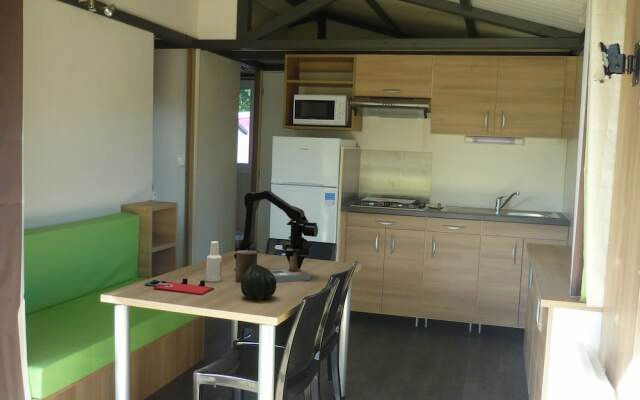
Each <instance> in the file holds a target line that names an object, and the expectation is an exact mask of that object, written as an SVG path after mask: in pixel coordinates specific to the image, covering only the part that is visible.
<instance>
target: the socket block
mask: <svg viewBox="0 0 640 400" xmlns="http://www.w3.org/2000/svg"><path fill="white" fill-rule="evenodd" d="M269 270H270V271H271V272H272V273H273V275H274V276H275V278H276V284H277V283H288V282H290V283H291V282H302V281H303V282H304V281H311V273H309V272H307V271H305V270H302V269H300V272H293V273H292V272H290V271H289V268H288V269H287V268H285V269H283V268H282V269H269Z"/></svg>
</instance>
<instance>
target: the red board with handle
mask: <svg viewBox="0 0 640 400" xmlns="http://www.w3.org/2000/svg"><path fill="white" fill-rule="evenodd" d="M188 280H189V279H188V278H182V281H181V283H180V282H173V281H165V280H159V279H158V280H157V279H152V280H150V281H148V282H146V283H144V285H148V286H154V287H153V290H154V291H163V292H171V293H177V294H178V293H180V294H188V295H196V296H204V295H206V294H208V293H210V292H213V291H214V290H215V287H211V286H206V280H200V281H199V284H198V285H197V284H190V283H188Z"/></svg>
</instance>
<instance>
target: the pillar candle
mask: <svg viewBox="0 0 640 400" xmlns="http://www.w3.org/2000/svg"><path fill="white" fill-rule="evenodd" d="M236 253H237V258H236V259H235V268H236V270H235V282H238V283H241V281H242V279H243V276H244V274H245V273H246V272H247V270H248V269H249V268H250V266H251V265H252V264H257V265H258V251H256V250H255V251H248V250H247V251H246V250H243V251H239V250H237V251H236Z"/></svg>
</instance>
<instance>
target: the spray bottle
mask: <svg viewBox="0 0 640 400" xmlns="http://www.w3.org/2000/svg"><path fill="white" fill-rule="evenodd" d="M209 249H210V250H209V255H207V256H206V265H205V266H206V267H205V270H206V271H205V281H206V282H209V283H210V282H211V283H217V282H221V281H222V266H223V265H222V263H223V262H222V261H223V257H222V256H221V255H220V245H219V241H215V240H213V241H212V240H211V242H210V247H209Z"/></svg>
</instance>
